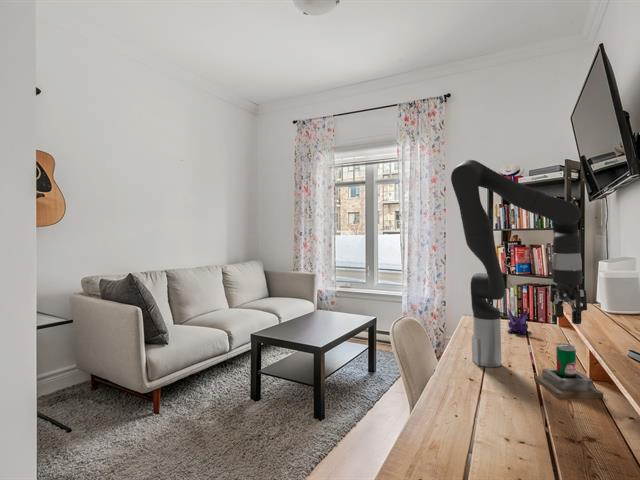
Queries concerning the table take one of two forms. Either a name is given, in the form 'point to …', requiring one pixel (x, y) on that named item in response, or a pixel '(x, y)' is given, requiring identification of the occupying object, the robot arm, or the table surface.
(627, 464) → the table surface
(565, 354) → the soda can
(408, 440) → the table surface
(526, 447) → the table surface
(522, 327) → the creature
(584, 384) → the grey hollow square frame
